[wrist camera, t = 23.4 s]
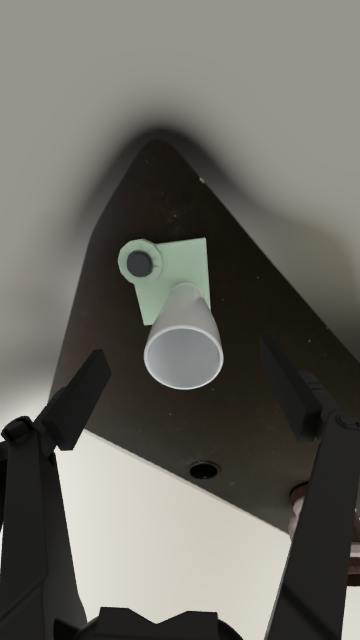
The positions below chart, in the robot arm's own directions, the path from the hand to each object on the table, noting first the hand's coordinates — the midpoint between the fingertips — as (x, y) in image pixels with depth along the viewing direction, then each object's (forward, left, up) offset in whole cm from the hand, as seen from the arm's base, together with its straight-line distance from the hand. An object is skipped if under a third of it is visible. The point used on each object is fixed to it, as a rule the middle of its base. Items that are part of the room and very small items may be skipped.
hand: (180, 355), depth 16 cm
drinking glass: (0, 0, -15) cm, 15 cm away
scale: (-2, -2, -16) cm, 16 cm away
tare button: (-6, -5, -13) cm, 16 cm away
